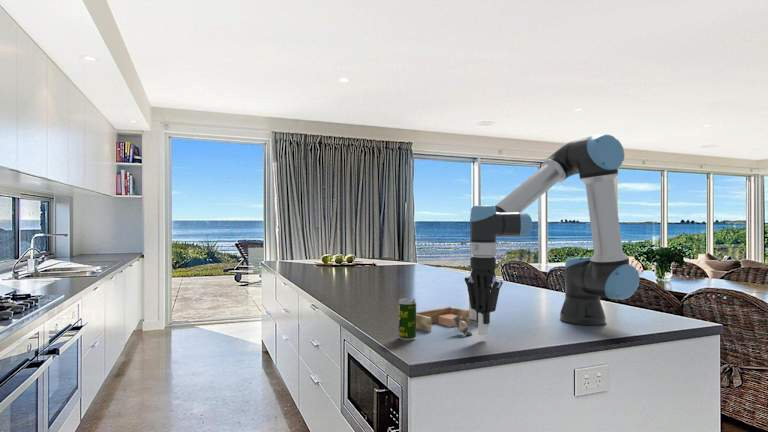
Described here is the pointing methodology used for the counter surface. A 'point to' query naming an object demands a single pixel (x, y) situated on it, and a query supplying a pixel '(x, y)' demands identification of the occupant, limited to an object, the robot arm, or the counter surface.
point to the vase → (462, 326)
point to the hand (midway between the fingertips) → (482, 334)
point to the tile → (447, 320)
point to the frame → (431, 316)
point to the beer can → (407, 319)
